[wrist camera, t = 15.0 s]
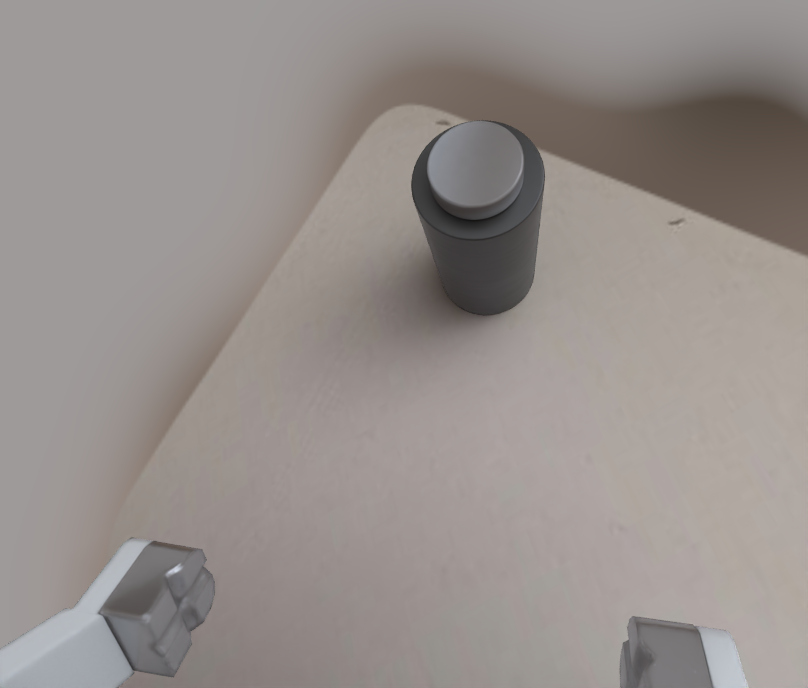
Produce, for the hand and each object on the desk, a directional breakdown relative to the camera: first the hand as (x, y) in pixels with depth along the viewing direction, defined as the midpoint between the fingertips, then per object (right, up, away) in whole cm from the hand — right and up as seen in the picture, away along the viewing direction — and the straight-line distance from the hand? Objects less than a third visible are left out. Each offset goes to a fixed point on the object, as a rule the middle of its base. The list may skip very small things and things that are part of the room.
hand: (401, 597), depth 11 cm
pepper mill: (+4, +8, +17) cm, 20 cm away
